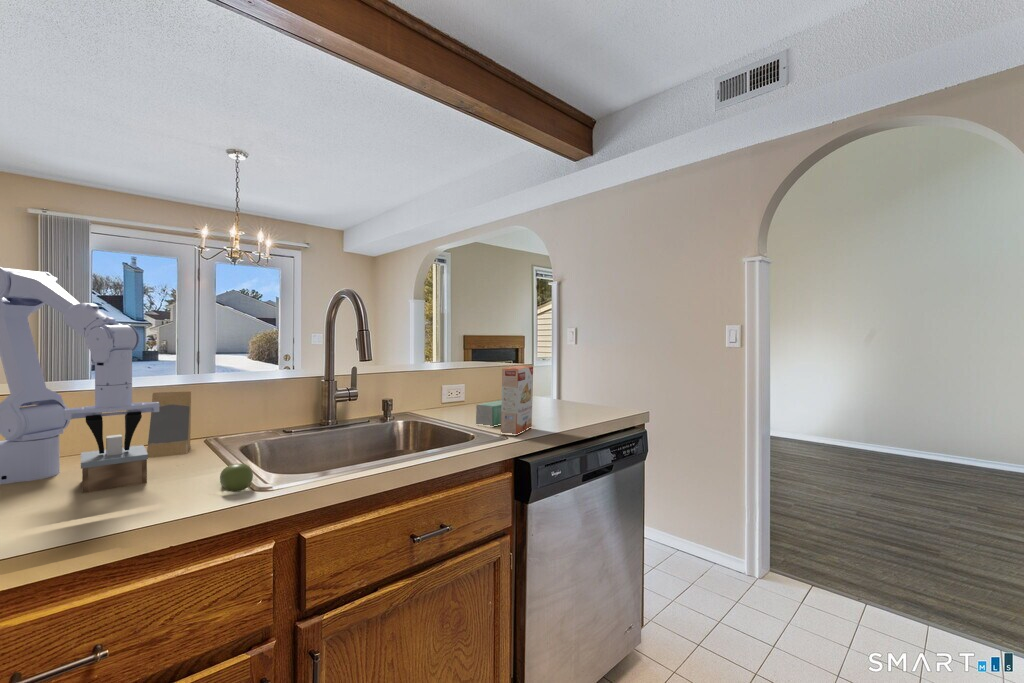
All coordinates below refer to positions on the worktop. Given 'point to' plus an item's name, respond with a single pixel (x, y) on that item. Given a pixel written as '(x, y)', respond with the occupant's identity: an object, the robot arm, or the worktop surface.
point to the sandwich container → (170, 424)
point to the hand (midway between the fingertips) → (114, 450)
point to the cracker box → (516, 399)
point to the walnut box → (114, 475)
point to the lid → (113, 454)
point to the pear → (236, 477)
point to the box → (489, 413)
